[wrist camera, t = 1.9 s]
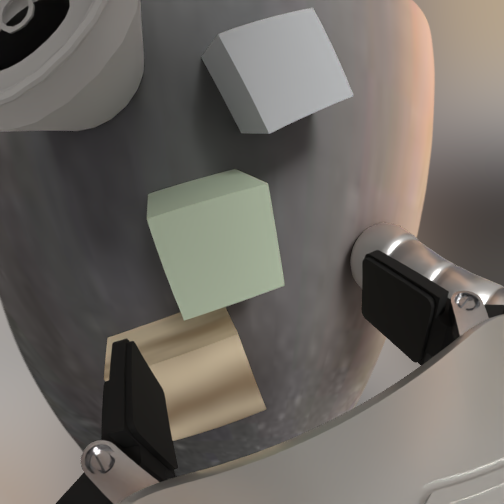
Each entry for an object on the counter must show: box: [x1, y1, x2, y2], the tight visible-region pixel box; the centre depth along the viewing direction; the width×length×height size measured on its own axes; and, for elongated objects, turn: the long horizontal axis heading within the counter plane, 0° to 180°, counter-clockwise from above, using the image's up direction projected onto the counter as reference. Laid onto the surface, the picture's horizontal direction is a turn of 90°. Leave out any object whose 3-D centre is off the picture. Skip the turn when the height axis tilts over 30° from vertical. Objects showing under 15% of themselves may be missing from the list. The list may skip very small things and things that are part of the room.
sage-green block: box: [147, 169, 285, 321], centre depth 17 cm, size 6×6×6 cm
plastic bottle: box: [350, 222, 504, 305], centre depth 17 cm, size 6×7×20 cm
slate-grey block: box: [201, 8, 353, 134], centre depth 15 cm, size 6×6×5 cm
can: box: [0, 0, 144, 132], centre depth 8 cm, size 8×8×12 cm
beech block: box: [104, 307, 266, 441], centre depth 22 cm, size 10×10×5 cm
